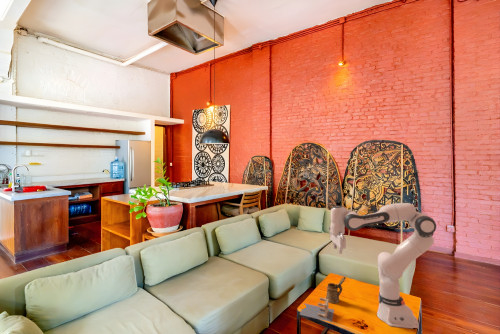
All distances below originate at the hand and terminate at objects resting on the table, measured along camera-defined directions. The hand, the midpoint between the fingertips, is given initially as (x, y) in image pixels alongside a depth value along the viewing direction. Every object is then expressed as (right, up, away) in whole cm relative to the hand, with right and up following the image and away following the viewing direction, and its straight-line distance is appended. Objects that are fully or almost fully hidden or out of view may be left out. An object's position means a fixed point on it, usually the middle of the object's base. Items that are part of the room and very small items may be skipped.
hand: (337, 250), depth 169 cm
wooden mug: (+2, -40, +11) cm, 41 cm away
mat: (-14, -40, -2) cm, 42 cm away
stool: (-11, -40, -4) cm, 41 cm away
